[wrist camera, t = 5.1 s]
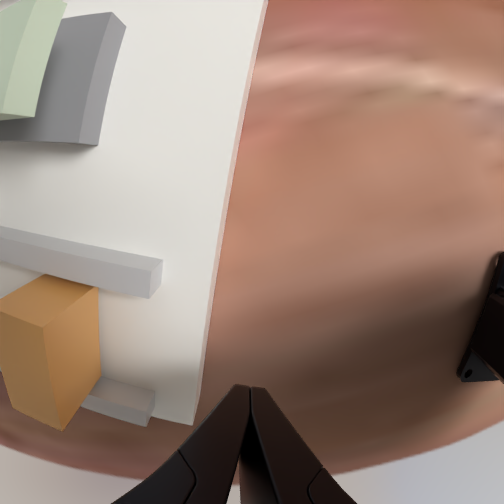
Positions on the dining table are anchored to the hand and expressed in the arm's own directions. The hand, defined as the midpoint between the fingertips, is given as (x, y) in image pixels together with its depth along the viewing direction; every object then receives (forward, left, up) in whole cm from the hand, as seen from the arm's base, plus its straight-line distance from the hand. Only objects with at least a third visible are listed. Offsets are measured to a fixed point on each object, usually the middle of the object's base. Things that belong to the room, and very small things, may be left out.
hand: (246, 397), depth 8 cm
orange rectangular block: (+6, 0, -2) cm, 6 cm away
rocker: (+9, -8, +1) cm, 12 cm away
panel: (+9, -8, -4) cm, 13 cm away
